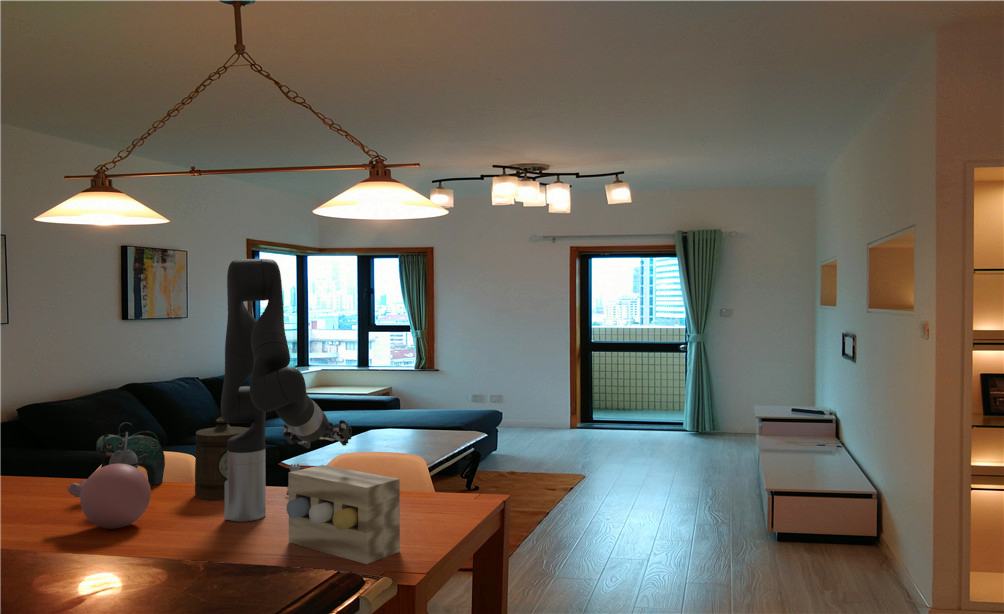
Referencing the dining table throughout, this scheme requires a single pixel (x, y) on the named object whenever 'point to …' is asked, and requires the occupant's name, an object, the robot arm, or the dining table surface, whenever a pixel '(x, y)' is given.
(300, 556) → the dining table surface
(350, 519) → the ochre button
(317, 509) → the white button
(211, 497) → the wooden container
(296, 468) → the rook chess piece
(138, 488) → the balloon
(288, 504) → the slate button
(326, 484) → the block
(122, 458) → the beverage cup
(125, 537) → the dining table surface
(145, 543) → the dining table surface
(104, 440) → the ceramic cat
